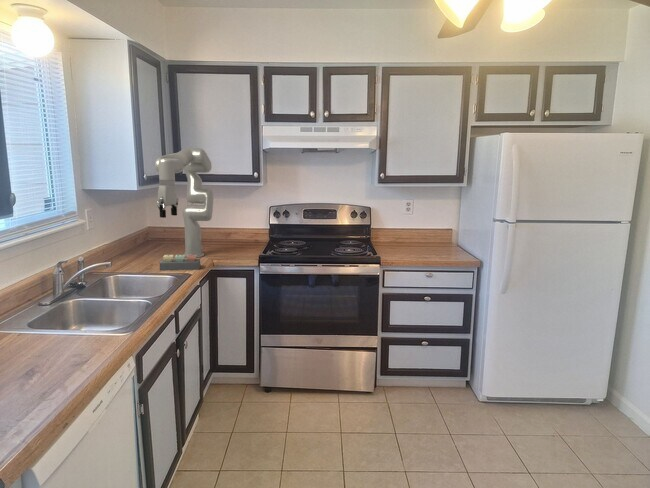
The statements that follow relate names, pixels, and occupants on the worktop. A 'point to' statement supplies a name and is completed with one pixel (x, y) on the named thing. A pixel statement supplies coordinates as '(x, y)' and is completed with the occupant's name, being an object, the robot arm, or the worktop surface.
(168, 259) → the tile one
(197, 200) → the robot arm
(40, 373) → the worktop surface
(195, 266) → the console
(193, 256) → the tile three
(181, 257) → the tile two
